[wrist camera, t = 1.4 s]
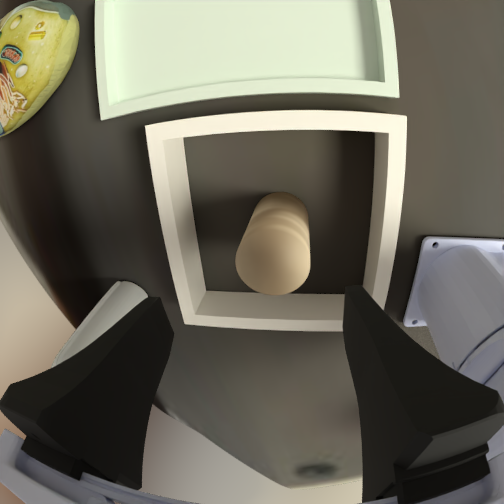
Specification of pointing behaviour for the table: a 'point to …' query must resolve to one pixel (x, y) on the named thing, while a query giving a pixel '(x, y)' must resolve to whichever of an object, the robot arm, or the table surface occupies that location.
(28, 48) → the cell model
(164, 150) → the square open frame
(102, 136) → the table surface
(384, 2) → the tray
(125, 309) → the photo printer
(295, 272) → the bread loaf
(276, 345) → the table surface
